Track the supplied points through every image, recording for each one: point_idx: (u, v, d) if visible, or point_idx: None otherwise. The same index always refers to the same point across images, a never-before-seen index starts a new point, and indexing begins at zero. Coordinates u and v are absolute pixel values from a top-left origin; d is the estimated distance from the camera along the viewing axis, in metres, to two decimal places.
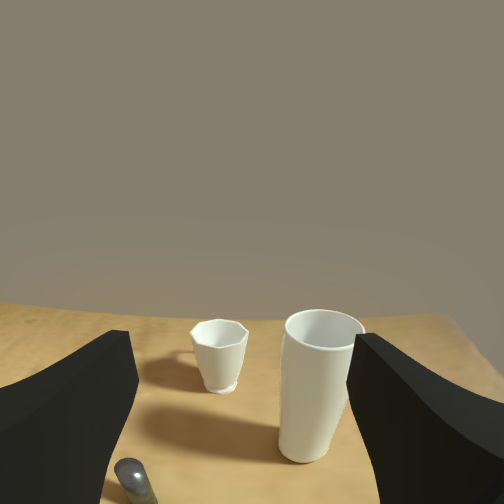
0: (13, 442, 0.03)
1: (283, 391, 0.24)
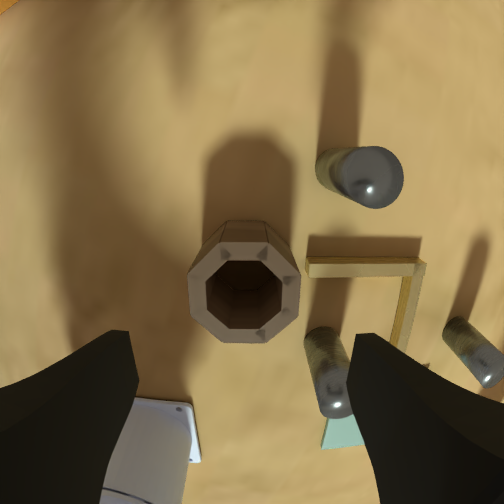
0: (13, 442, 0.03)
1: None
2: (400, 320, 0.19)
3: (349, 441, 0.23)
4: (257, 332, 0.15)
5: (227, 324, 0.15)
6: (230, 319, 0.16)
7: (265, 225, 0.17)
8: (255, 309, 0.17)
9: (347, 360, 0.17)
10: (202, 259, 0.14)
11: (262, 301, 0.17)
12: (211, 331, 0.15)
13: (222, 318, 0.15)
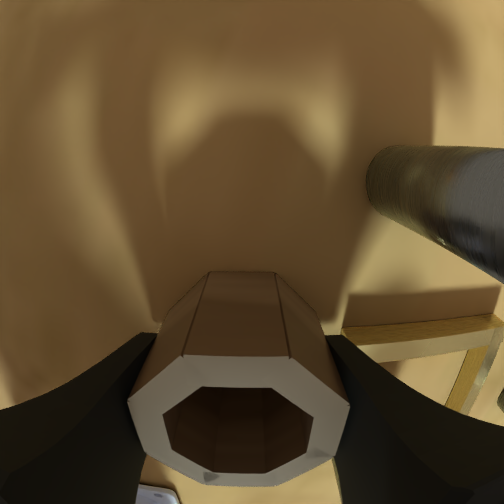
0: (59, 460, 0.03)
1: None
2: (460, 398, 0.11)
3: None
4: (262, 476, 0.07)
5: (210, 463, 0.07)
6: (216, 448, 0.08)
7: (278, 286, 0.09)
8: (258, 423, 0.09)
9: None
10: (151, 380, 0.06)
11: (270, 408, 0.09)
12: (183, 472, 0.07)
13: (201, 453, 0.07)
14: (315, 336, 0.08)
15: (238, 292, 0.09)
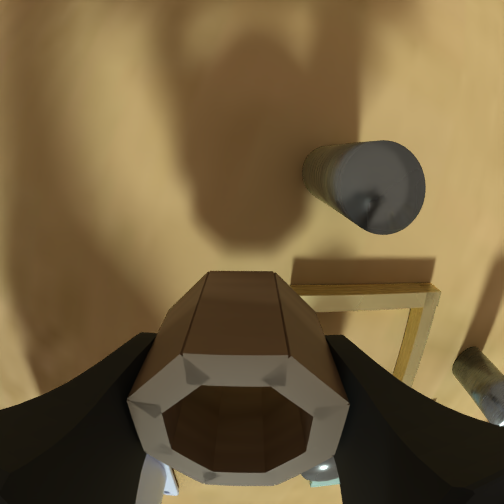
0: (58, 460, 0.03)
1: None
2: (405, 357, 0.15)
3: None
4: (262, 475, 0.07)
5: (210, 462, 0.07)
6: (216, 448, 0.08)
7: (277, 285, 0.09)
8: (258, 422, 0.09)
9: None
10: (150, 379, 0.06)
11: (270, 407, 0.09)
12: (183, 472, 0.07)
13: (201, 452, 0.07)
14: (314, 335, 0.08)
15: (238, 291, 0.09)
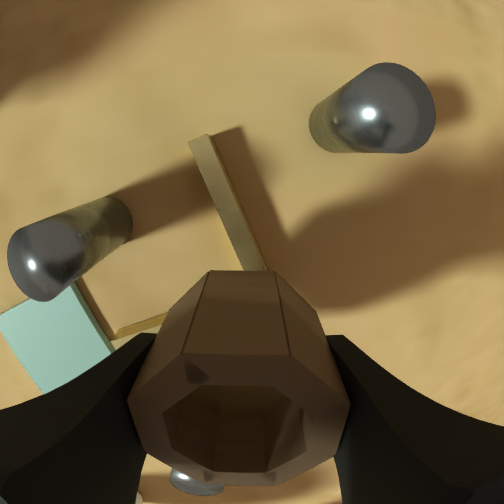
0: (58, 460, 0.03)
1: None
2: None
3: (17, 347, 0.15)
4: (263, 475, 0.07)
5: (210, 462, 0.07)
6: (217, 447, 0.08)
7: (278, 284, 0.09)
8: (258, 422, 0.09)
9: (98, 251, 0.10)
10: (151, 378, 0.06)
11: (270, 407, 0.09)
12: (183, 471, 0.07)
13: (201, 452, 0.07)
14: (315, 335, 0.08)
15: (238, 291, 0.09)
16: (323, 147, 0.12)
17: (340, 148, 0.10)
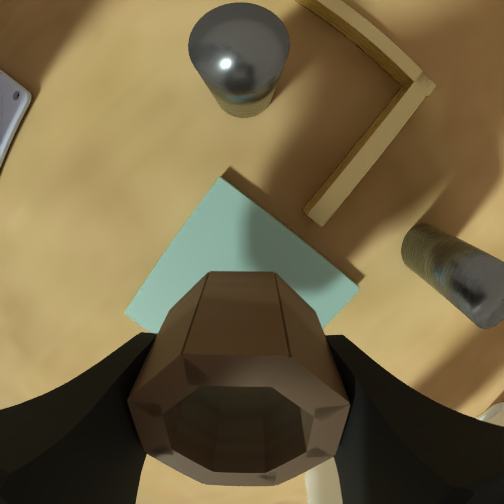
0: (58, 459, 0.03)
1: None
2: (369, 134, 0.12)
3: None
4: (263, 475, 0.07)
5: (210, 463, 0.07)
6: (216, 448, 0.08)
7: (278, 285, 0.09)
8: (258, 422, 0.09)
9: None
10: (151, 379, 0.06)
11: (270, 407, 0.09)
12: (184, 472, 0.07)
13: (201, 452, 0.07)
14: (315, 335, 0.08)
15: (238, 291, 0.09)
16: None
17: None
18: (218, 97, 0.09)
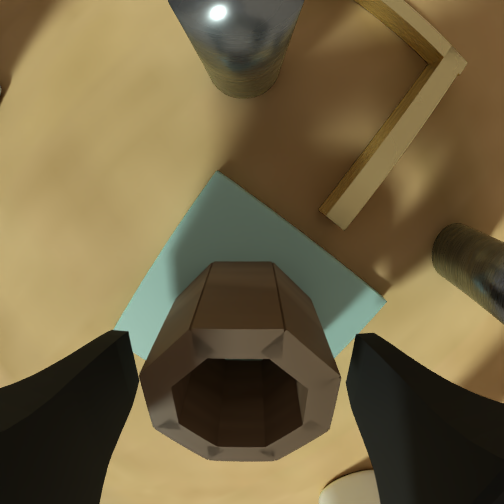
0: (13, 442, 0.03)
1: None
2: (397, 116, 0.09)
3: None
4: (262, 450, 0.08)
5: (214, 438, 0.08)
6: (220, 425, 0.09)
7: (275, 273, 0.10)
8: (259, 402, 0.10)
9: None
10: (162, 354, 0.07)
11: (269, 388, 0.10)
12: (189, 447, 0.08)
13: (205, 428, 0.08)
14: (309, 317, 0.09)
15: (239, 278, 0.09)
16: None
17: None
18: (211, 64, 0.06)
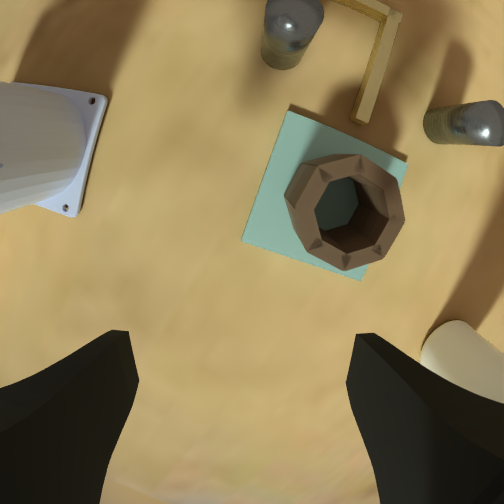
0: (13, 442, 0.03)
1: None
2: (373, 57, 0.15)
3: (284, 241, 0.19)
4: (374, 248, 0.14)
5: (343, 251, 0.14)
6: (342, 248, 0.15)
7: (340, 154, 0.16)
8: (358, 235, 0.16)
9: None
10: (305, 188, 0.13)
11: (360, 226, 0.16)
12: (330, 262, 0.14)
13: (336, 246, 0.14)
14: None
15: (323, 158, 0.16)
16: None
17: None
18: (281, 49, 0.13)
